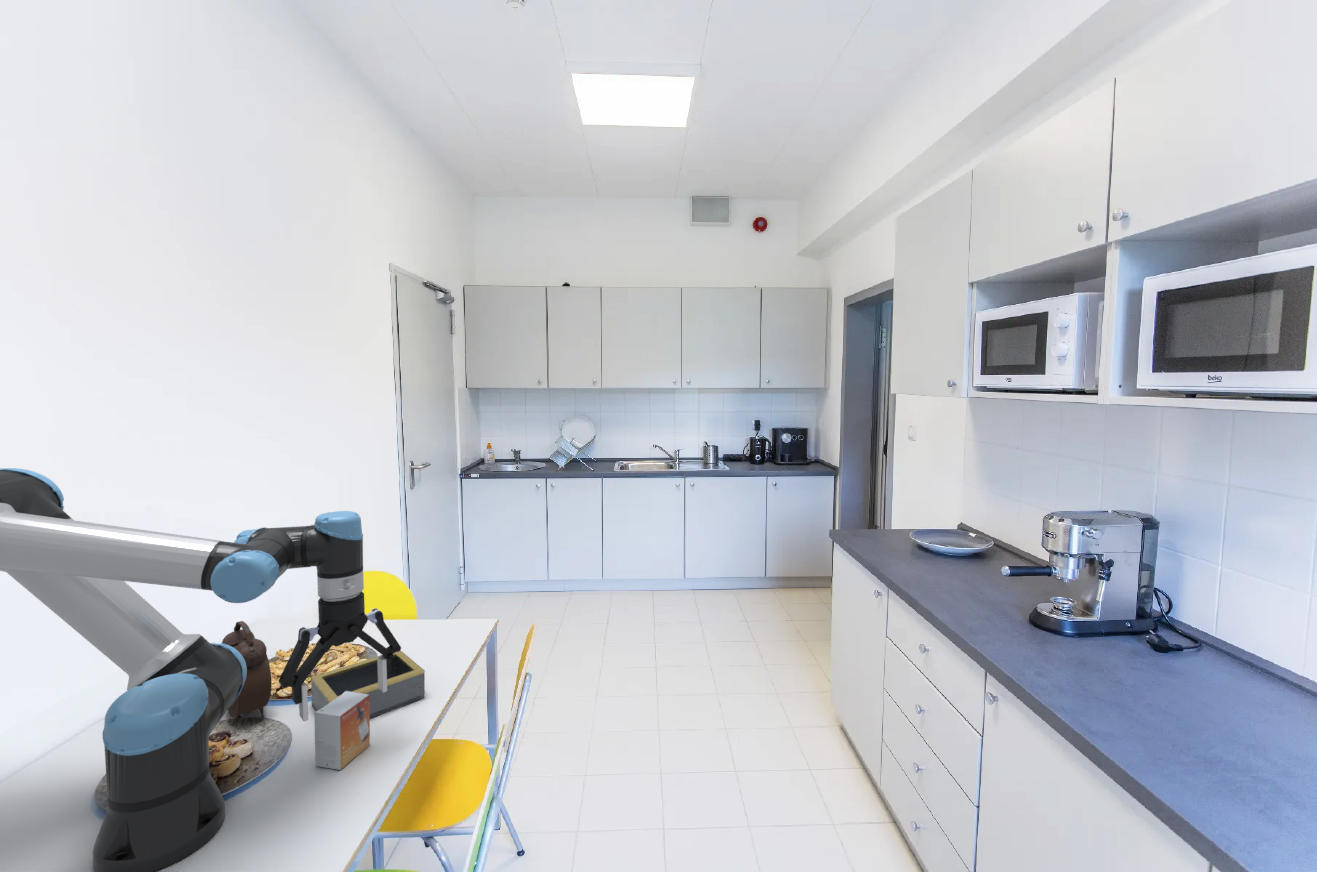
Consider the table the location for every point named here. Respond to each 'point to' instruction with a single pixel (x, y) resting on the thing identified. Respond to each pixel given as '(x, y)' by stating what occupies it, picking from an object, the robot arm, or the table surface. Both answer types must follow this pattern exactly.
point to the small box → (342, 730)
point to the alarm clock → (250, 672)
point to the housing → (372, 684)
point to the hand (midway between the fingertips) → (345, 703)
